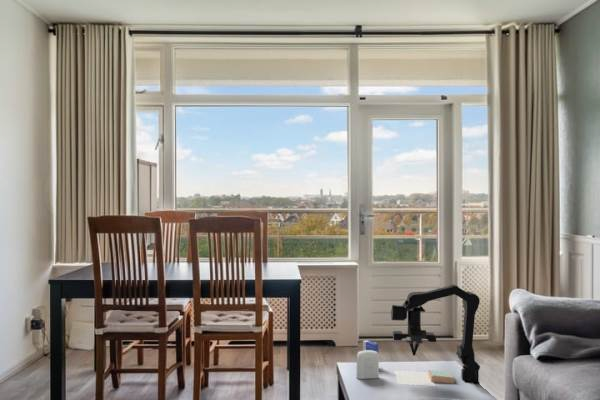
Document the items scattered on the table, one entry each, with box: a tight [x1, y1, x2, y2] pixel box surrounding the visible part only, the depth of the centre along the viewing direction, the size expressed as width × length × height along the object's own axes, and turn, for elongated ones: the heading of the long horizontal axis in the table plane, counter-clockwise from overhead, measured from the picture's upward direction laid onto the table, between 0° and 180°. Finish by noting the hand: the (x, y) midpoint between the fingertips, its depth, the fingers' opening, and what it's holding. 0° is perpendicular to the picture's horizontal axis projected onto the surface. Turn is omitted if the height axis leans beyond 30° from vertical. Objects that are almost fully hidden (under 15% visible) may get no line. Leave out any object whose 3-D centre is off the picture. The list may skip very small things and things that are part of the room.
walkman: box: [362, 340, 379, 353], centre depth 217 cm, size 8×3×12 cm, turn 40°
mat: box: [394, 370, 436, 387], centre depth 201 cm, size 16×16×1 cm
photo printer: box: [356, 350, 380, 380], centre depth 203 cm, size 10×4×12 cm, turn 98°
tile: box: [428, 369, 455, 384], centre depth 200 cm, size 3×7×10 cm
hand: (413, 355), depth 201 cm, fingers closed
